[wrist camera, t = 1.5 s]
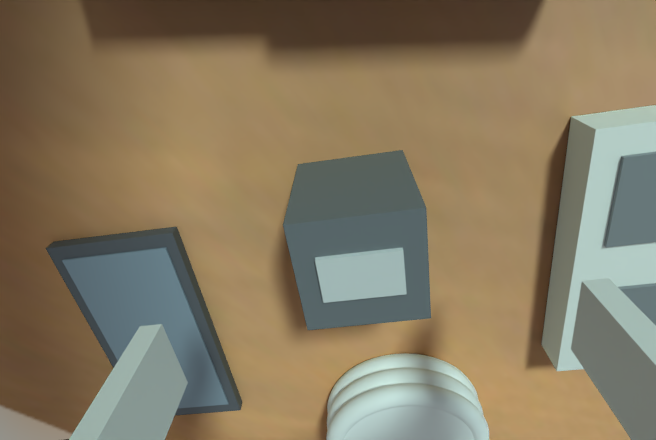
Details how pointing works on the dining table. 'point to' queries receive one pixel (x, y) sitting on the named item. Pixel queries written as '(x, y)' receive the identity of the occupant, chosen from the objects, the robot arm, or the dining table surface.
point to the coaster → (405, 402)
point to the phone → (149, 306)
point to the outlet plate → (603, 220)
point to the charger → (358, 241)
